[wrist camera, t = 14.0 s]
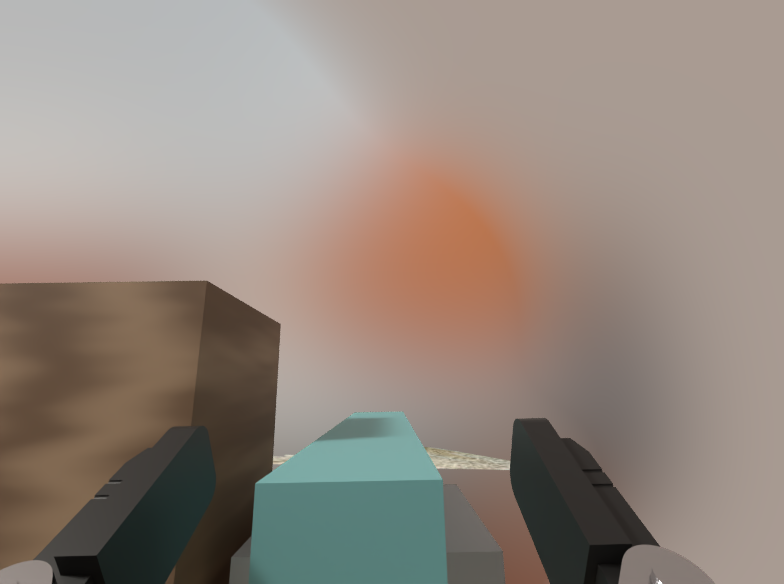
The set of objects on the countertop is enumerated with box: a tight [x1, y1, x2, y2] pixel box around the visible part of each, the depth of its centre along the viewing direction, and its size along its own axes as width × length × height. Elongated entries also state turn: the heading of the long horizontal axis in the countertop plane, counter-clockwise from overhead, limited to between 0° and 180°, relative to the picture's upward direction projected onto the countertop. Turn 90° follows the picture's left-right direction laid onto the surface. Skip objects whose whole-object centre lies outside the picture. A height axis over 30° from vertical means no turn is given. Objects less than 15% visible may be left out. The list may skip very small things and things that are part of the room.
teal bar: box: [248, 412, 448, 584], centre depth 19 cm, size 4×24×4 cm, turn 0°
